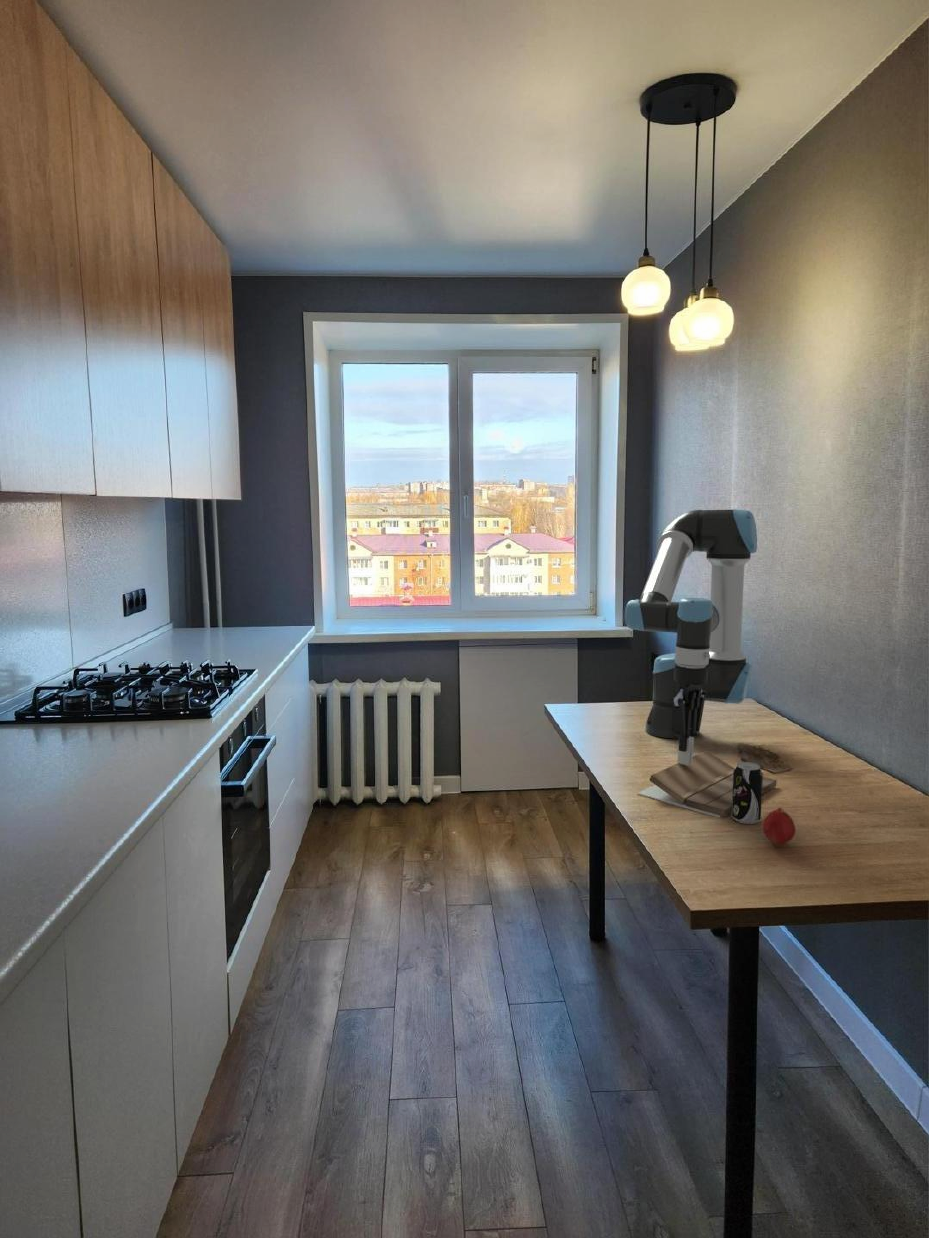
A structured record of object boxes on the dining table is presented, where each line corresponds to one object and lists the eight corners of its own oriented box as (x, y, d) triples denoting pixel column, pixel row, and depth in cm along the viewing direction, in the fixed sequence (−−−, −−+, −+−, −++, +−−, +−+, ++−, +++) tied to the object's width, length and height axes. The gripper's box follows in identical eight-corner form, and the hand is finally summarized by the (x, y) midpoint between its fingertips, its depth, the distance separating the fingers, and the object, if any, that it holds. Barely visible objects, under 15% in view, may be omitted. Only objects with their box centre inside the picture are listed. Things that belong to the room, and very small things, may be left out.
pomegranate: (756, 840, 151) (758, 801, 150) (784, 839, 151) (786, 800, 150) (770, 853, 145) (772, 812, 144) (799, 852, 146) (802, 811, 145)
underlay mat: (695, 766, 195) (695, 765, 195) (773, 785, 181) (773, 784, 181) (637, 794, 176) (637, 792, 176) (719, 817, 162) (720, 816, 162)
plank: (704, 754, 193) (706, 749, 192) (735, 775, 187) (738, 770, 187) (649, 780, 174) (651, 774, 174) (682, 804, 169) (684, 798, 168)
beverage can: (725, 818, 162) (727, 763, 160) (744, 813, 165) (746, 759, 163) (747, 827, 157) (750, 771, 156) (766, 822, 160) (769, 766, 158)
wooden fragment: (798, 775, 190) (798, 771, 190) (752, 774, 190) (753, 770, 190) (764, 744, 215) (764, 741, 215) (724, 744, 216) (724, 740, 216)
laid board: (739, 777, 187) (739, 770, 186) (776, 786, 180) (776, 779, 180) (685, 805, 168) (685, 798, 168) (724, 816, 162) (725, 809, 162)
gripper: (691, 671, 171) (684, 773, 174) (720, 664, 181) (713, 761, 184) (661, 666, 176) (655, 765, 180) (691, 659, 186) (684, 753, 189)
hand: (684, 763), depth 182 cm, fingers closed, pressing on plank
